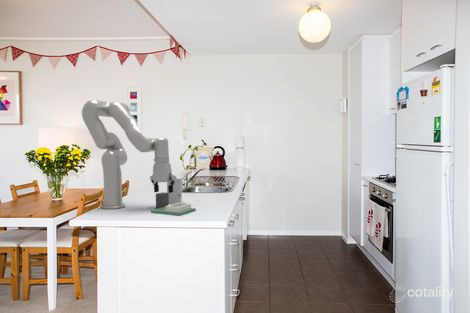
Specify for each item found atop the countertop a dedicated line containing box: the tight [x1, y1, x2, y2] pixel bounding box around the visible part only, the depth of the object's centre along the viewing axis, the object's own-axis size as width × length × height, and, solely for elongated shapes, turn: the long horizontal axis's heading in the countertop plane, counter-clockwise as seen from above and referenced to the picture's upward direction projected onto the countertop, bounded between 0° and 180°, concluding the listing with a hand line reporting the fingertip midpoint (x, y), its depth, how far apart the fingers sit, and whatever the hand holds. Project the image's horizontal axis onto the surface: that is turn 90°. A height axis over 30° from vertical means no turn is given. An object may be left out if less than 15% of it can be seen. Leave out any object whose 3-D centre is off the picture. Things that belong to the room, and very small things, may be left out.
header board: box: [150, 202, 197, 217], centre depth 194 cm, size 18×14×4 cm
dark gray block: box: [155, 192, 170, 209], centre depth 205 cm, size 4×7×8 cm, turn 152°
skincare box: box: [166, 177, 183, 205], centre depth 219 cm, size 8×6×15 cm
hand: (163, 192), depth 205 cm, fingers open, 9 cm apart
